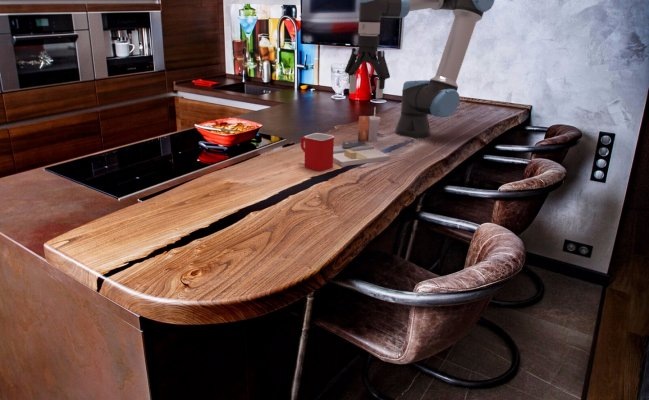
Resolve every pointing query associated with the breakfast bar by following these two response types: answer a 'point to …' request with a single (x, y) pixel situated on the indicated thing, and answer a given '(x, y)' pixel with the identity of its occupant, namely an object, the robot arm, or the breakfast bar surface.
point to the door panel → (359, 157)
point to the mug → (318, 151)
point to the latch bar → (360, 133)
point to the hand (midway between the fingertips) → (365, 95)
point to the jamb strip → (352, 148)
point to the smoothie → (373, 127)
